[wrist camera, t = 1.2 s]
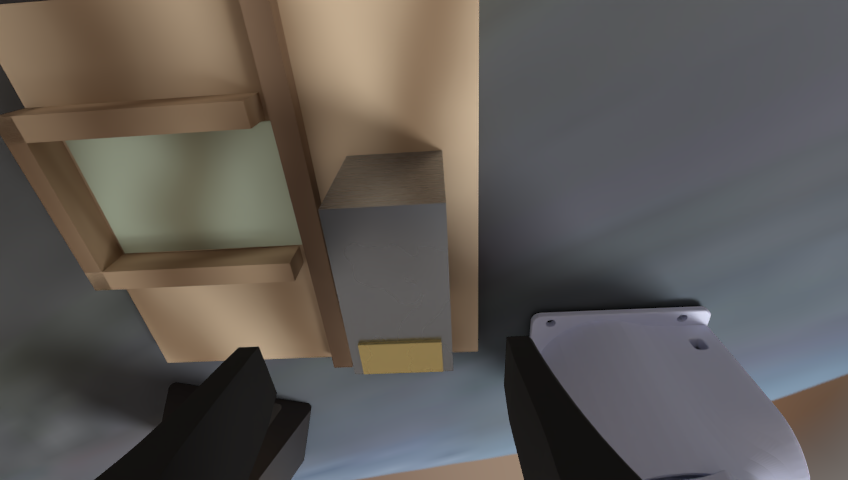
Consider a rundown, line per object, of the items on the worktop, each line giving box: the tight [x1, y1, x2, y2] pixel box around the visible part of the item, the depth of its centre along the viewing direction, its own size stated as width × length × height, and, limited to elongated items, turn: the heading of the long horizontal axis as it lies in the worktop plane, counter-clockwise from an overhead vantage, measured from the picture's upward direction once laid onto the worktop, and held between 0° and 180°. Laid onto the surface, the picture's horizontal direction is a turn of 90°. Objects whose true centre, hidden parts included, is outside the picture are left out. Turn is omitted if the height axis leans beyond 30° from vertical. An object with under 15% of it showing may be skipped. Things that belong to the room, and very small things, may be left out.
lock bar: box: [318, 150, 453, 374], centre depth 17 cm, size 8×4×5 cm, turn 4°
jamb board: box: [0, 0, 479, 368], centre depth 18 cm, size 18×18×2 cm
